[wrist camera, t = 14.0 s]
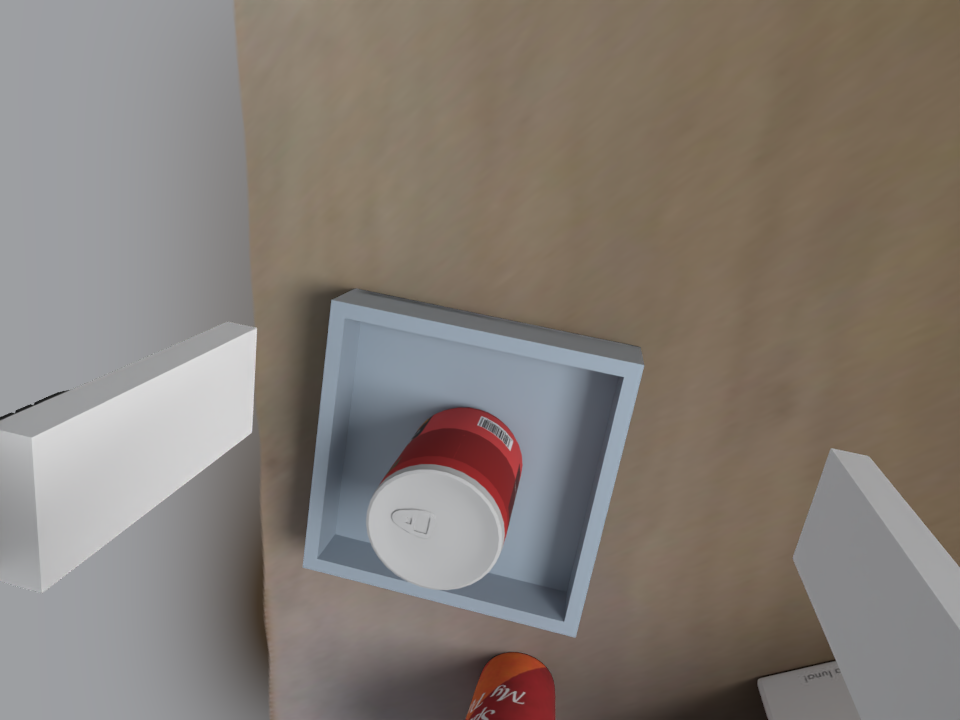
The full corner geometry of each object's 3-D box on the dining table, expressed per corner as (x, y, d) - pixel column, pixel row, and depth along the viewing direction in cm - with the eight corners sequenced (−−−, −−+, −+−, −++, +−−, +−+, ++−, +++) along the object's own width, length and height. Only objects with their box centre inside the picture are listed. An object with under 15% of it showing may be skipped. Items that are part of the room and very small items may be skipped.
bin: (355, 288, 48) (331, 299, 44) (640, 347, 46) (644, 365, 41) (326, 535, 54) (302, 567, 49) (577, 598, 51) (575, 637, 47)
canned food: (410, 402, 48) (358, 467, 38) (522, 403, 47) (500, 470, 37) (417, 501, 50) (370, 587, 40) (525, 504, 49) (506, 596, 39)
